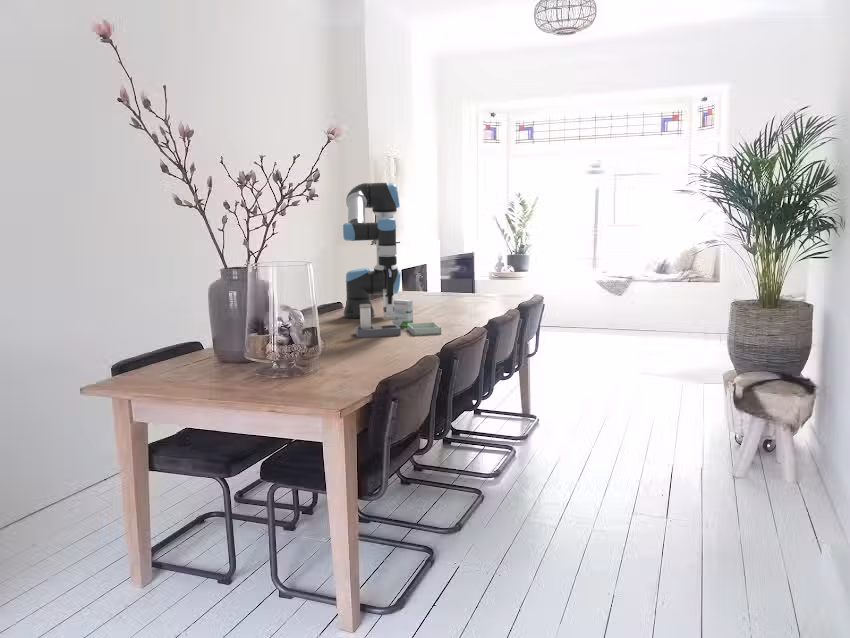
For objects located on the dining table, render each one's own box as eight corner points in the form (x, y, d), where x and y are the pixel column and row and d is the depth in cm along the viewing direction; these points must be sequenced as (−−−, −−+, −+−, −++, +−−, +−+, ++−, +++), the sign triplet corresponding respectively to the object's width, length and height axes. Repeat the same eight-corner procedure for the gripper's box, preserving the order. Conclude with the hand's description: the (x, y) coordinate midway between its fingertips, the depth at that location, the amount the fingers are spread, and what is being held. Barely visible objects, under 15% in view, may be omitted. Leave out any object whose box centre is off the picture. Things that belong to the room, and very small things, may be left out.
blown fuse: (382, 318, 301) (382, 288, 299) (393, 318, 302) (392, 288, 300) (384, 320, 297) (383, 289, 295) (395, 319, 298) (394, 289, 295)
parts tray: (407, 329, 309) (407, 323, 308) (434, 328, 311) (433, 322, 311) (413, 335, 295) (413, 328, 295) (441, 333, 298) (441, 327, 297)
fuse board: (355, 333, 302) (355, 326, 302) (396, 331, 306) (396, 323, 305) (357, 337, 293) (357, 330, 292) (400, 335, 296) (400, 327, 296)
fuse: (359, 334, 300) (359, 304, 298) (370, 333, 301) (369, 303, 299) (361, 336, 295) (360, 305, 293) (372, 335, 296) (371, 305, 294)
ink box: (413, 325, 319) (413, 299, 317) (408, 327, 315) (407, 301, 313) (397, 324, 324) (397, 298, 322) (391, 326, 319) (391, 300, 317)
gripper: (375, 254, 303) (377, 308, 307) (381, 257, 286) (383, 314, 290) (393, 253, 304) (394, 307, 308) (399, 257, 287) (401, 313, 291)
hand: (388, 310), depth 299 cm, fingers closed on blown fuse, 4 cm apart
